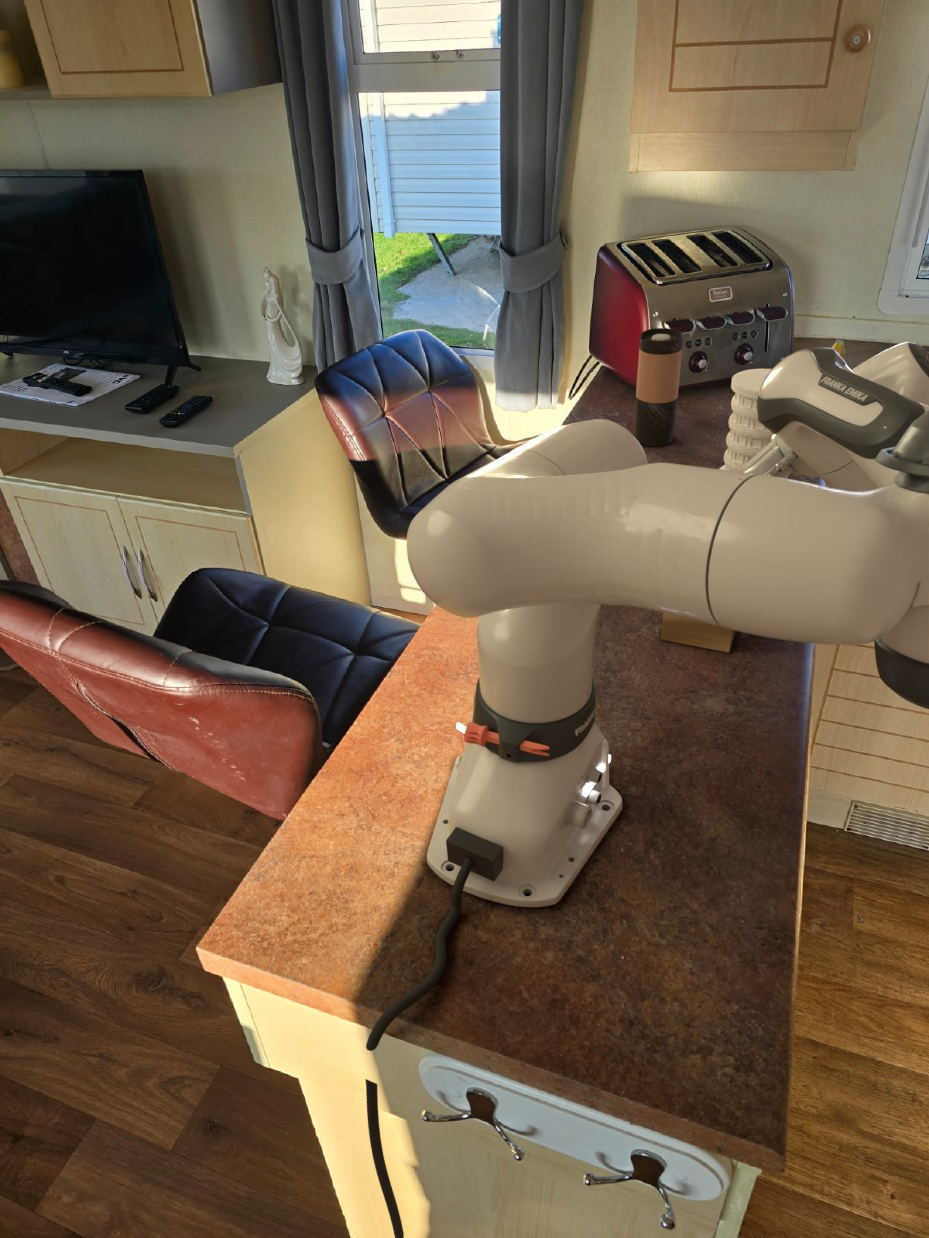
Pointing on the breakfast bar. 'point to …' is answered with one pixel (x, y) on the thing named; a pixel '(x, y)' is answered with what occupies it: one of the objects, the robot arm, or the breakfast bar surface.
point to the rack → (696, 633)
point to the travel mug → (657, 385)
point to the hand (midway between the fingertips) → (725, 492)
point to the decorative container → (745, 420)
